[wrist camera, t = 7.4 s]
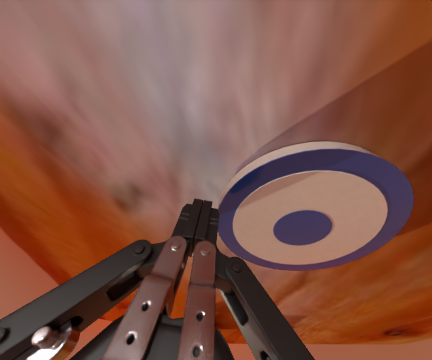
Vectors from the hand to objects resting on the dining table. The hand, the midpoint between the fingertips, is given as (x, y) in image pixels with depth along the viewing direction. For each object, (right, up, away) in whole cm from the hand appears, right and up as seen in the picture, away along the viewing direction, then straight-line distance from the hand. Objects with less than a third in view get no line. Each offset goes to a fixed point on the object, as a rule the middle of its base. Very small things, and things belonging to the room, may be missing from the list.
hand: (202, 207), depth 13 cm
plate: (+8, -1, +1) cm, 8 cm away
